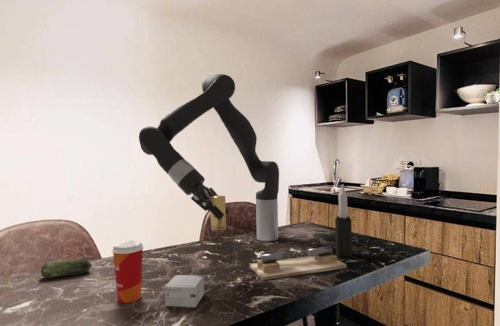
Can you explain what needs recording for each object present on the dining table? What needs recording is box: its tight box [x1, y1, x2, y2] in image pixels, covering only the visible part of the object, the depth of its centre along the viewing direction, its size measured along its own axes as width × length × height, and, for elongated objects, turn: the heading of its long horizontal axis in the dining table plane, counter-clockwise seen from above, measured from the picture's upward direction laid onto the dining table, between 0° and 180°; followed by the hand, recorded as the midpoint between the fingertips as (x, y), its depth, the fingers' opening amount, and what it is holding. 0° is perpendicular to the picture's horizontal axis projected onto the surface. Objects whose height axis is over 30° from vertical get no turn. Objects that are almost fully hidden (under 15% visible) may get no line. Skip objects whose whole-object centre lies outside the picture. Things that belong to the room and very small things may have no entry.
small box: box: [164, 274, 205, 308], centre depth 82 cm, size 8×8×5 cm
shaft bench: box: [249, 253, 348, 281], centre depth 104 cm, size 12×28×3 cm, turn 108°
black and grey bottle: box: [334, 184, 353, 258], centre depth 116 cm, size 5×5×25 cm
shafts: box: [260, 246, 333, 263], centre depth 103 cm, size 2×24×2 cm, turn 108°
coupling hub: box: [210, 195, 227, 232], centre depth 100 cm, size 5×5×10 cm
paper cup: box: [111, 240, 145, 304], centre depth 83 cm, size 8×8×14 cm
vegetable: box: [40, 257, 93, 279], centre depth 101 cm, size 14×5×5 cm, turn 112°
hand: (224, 215), depth 100 cm, fingers closed on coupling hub, 4 cm apart
